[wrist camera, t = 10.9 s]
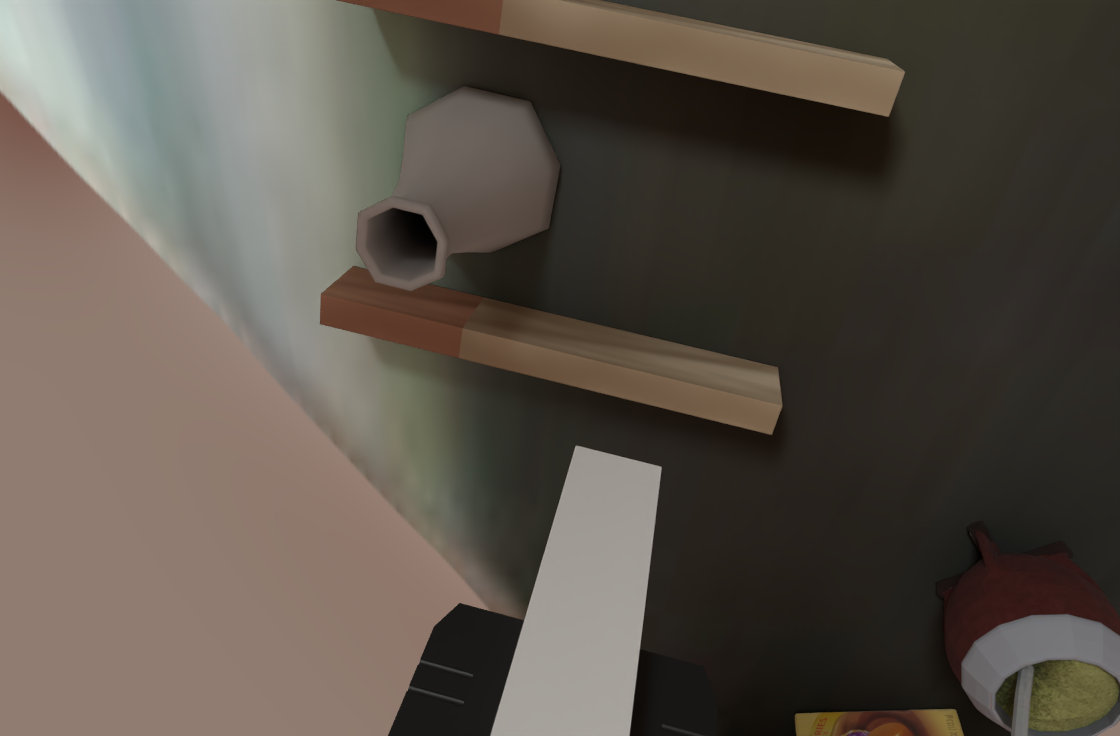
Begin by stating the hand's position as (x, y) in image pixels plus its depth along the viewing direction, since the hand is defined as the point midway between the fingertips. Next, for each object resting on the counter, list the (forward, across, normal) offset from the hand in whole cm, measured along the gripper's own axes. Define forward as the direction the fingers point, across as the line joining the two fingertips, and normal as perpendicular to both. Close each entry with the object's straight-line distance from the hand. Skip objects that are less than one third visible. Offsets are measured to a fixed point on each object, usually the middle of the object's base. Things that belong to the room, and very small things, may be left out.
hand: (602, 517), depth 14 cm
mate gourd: (+22, +20, -15) cm, 33 cm away
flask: (+23, -8, -1) cm, 24 cm away
